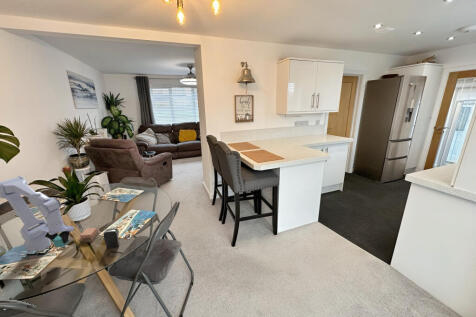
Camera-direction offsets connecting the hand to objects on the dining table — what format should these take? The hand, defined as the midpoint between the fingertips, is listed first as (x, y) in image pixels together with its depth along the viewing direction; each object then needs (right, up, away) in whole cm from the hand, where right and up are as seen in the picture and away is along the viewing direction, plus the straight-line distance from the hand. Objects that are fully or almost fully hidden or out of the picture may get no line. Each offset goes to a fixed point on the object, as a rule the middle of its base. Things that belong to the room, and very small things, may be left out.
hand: (61, 242), depth 99 cm
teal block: (0, -1, 0) cm, 1 cm away
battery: (+21, -7, +11) cm, 25 cm away
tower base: (+2, -5, +16) cm, 17 cm away
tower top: (+2, -3, +16) cm, 16 cm away
